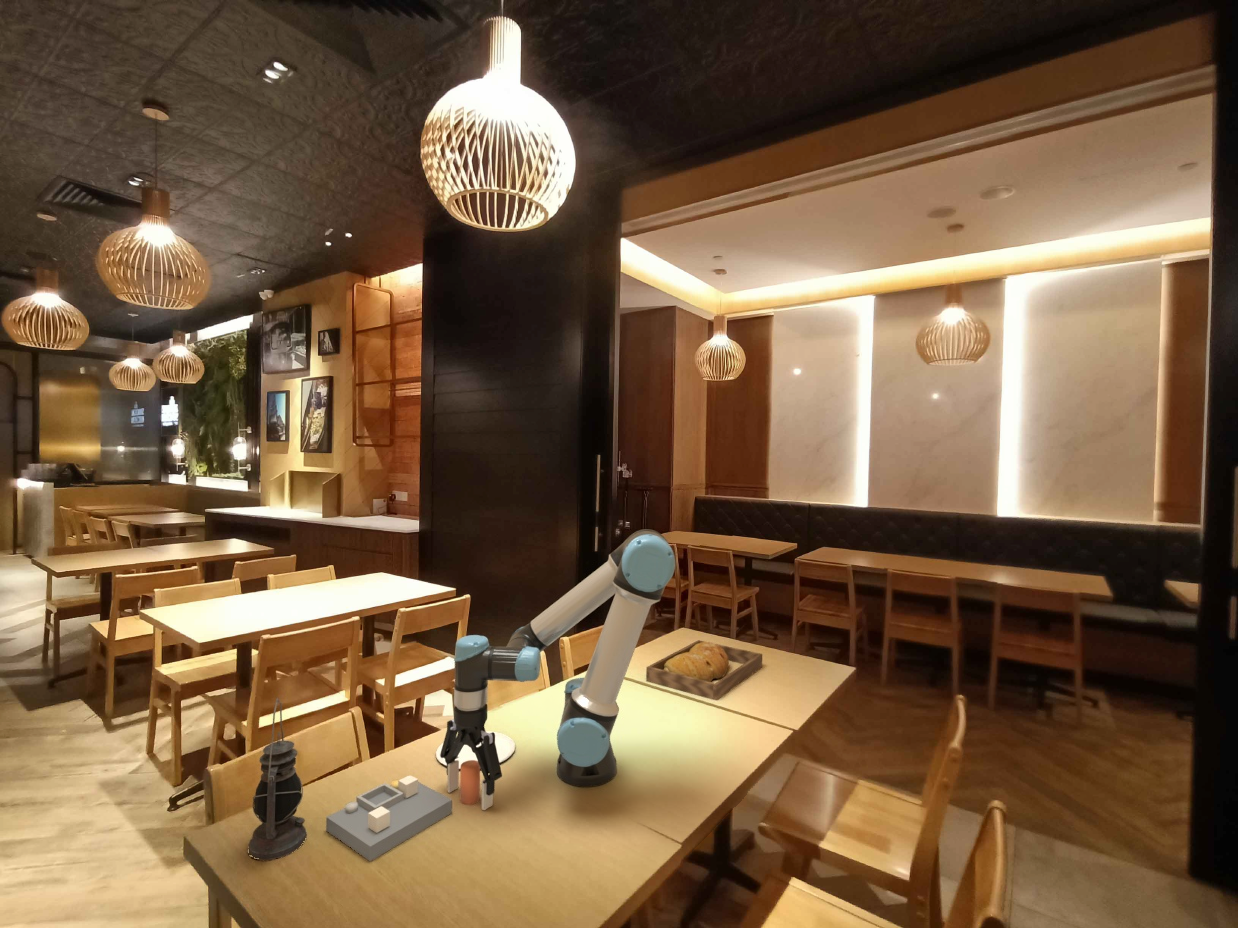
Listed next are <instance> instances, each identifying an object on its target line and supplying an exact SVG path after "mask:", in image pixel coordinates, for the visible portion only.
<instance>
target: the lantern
mask: <svg viewBox="0 0 1238 928" xmlns="http://www.w3.org/2000/svg"><path fill="white" fill-rule="evenodd" d="M278 704H279V716H280V717H279V720H280V721H279V722H280V731H281V732H279V731H277V737H276V739H277V740H276V741H274V733H275V718H276V710H277V707H278ZM274 705H275V706H274V710H273V715H272V725H271V726H272V730H271V741H270V742H271V743H269V744H267V745H266V746H264V747H263V749H262V753H263V754H262V755H261V756H260V757H259V761H258V762H259V763H260V764H261V766H260V771H261V772H262V774H261V775H260V781H259V783H258V785H257V787H256V789H255V794H254V796H253V797H252V799H253V801H252V811H253V814H254V816H255V817H256V818H257V819H258V821H259V822H260V823H261V824H259V825H258V826H257V827H256V828H255V829H254V830H253V832H252V836H251V838H250V840H249V843H248V846H249V853H247V855H248V854H249V855H252V856H253V857H252V858H254V857H255V858H259V859H257V860H256V861H259V860H268V861H273V860H272V859H274V860H277V859H276V858H279V859H282V858H284V857H286V855H287V856H289V855H291V854H293V853H295V852H296V851H297V850H299V849H300V848H301V847H302V846H301V844H302V843H304V842H303V841H305V838H307V836H308V833H307V831H306V827H305V826H304V824H305V821H306V820H305V818H304V817H301V816H296V815H295V814H296V813H297V810H298V807H299V805H300V804H301V802H302V799H303V794H304V788H303V782H302V780H301V778H300V777H299V775H298V774H297V771H296V770H297V768H296V767H295V765H296V763H297V758H296V757H297V756H298V750H297V749H296V748H294V747H295V742H293V741H291V740H285V739H284V729H283V728H284V727H283V718H282V717H283V716H282V702H281V701H280V700H279V697H277V698H276V699H275V704H274ZM305 842H306V841H305ZM304 844H305V843H304ZM300 846H301V847H300ZM299 847H300V848H299ZM298 848H299V849H298ZM296 849H297V850H296ZM295 850H296V851H295ZM294 851H295V852H294ZM292 852H293V853H292ZM281 857H282V858H281ZM252 858H251V859H252Z"/></svg>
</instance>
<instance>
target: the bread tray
mask: <svg viewBox="0 0 1238 928" xmlns="http://www.w3.org/2000/svg"><path fill="white" fill-rule="evenodd" d="M701 642H706V641H704V640H700V639H699V640H696V641H695V642H692V643H690V644H689V645H686V646H684V647H682V648H680V649H679V650H677V651H675V652H673V653H671V654H669V655H667V656H665V657H663V658H661V659H660V660H658V661H655V662H654V663H652V664H650V665H648V666H646V667H645V668H646V671H645V673H646V678H645V681H646V682H647V683H652V684H656V685H659V686H663V687H666V688H670V689H673V690H677V691H680V692H684V693H689V694H692V695H695V696H699V697H703V698H706V699H709V700H710V699H711V700H714V701H717V700H719V699H720V698H722V697H723V696H725V694H727V693H729V692H730V691H731V690H733V689H734V688H735V687H737V686H738V685H739V684H741V683H743V682H744V681H745V680H746V679H747V678H749V677H750V676H752V675H753V674H755V673H756V672H758V671H759V670H760V669H761V668H762V667H763V653H759V652H754V651H752V650H751V651H750V650H746V649H740V648H736V647H731V646H727V645H723V644H718V643H716V644H717V645H718V646H720V647H721V648H722V649H723V650H724V651H725V653H726V654H727V656H728V660H729V662H734V663H739V664H741V665H740V666H739V667H737V668H736V669H734V670H732V671H731V672H730V673H728V674H727V675H724V676H723V677H721V678H720V679H718V681H716V682H712V681H711V682H708V681H704V680H700V679H696V678H692V677H688V676H684V675H680V674H677V673H673V672H669V671H665V670H663V669H664V664H665V663H666V662H667V661H668V660H669V659H671V658H674V657H675V656H677V655H679V654H682V653H686V652H689V651H690V649H691V648H692V647H693V646H695V645H696V644H698V643H701Z"/></svg>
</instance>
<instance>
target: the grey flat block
mask: <svg viewBox="0 0 1238 928" xmlns="http://www.w3.org/2000/svg"><path fill="white" fill-rule="evenodd" d="M399 780H400V779H395V780H392V781H391V783H390V784H388V783H386V782H384V783H381V784H380V785H378V786H376V787H373V788H372V789H369V790H367V791H365V792H364V793H361V794H360V795H358V796H356V801H351V802H348V803H346V804H345V807H343V808H342V809H340V810H338V811H336V812H333V813H332V814H330V815H328V816H326V818H325V819H326V820H325V821H326V822H325V823H326V827H325V829H326V830H325V831H326V832H327V833H328V832H329V833H328V834H329V835H331V836H333V837H334V836H335V837H334V838H336V839H337V838H338V839H339V840H338V839H337V840H338V841H340V840H341V841H342V843H343V844H344V843H345V844H344V845H346V846H347V847H348V846H349V848H350V847H351V848H352V850H353V851H354V850H355V851H354V852H356V853H357V854H358V853H359V854H358V855H360V856H361V855H362V856H361V857H362V858H365V859H366V860H367V861H368V862H372V861H374V860H376V859H377V858H379V857H380V856H382V855H384V854H385V853H388V852H389V851H391V850H393V849H394V848H396V847H397V846H399V845H400V844H402V843H404V842H405V841H408V840H409V839H411V838H412V837H414V836H417V834H419V833H421V832H423V831H424V830H425V829H427V828H429V827H431V826H432V825H433V826H434V824H435V823H437V822H439V821H441V820H443V819H444V818H446V817H448V816H449V815H451V814H453V799H452V798H450V797H448V796H446V795H445V794H442V793H440V792H438V791H437V790H435V789H433V788H431V787H429V786H427V785H426V784H423V783H422V782H419V781H418V793H416V794H414V795H412V796H410V797H408V798H405V797H404V793H402V792H401V791H399V790H398V781H399ZM381 806H382V807H384V808H385V809H387V810H389V811H390V826H388V827H386V828H385V829H383V830H381V831H379V832H378V833H376V832H374V831H373V830H371V829H370V828H368V813H369V812H371V811H373V810H375V809H377V808H379V807H381ZM341 841H340V842H341ZM351 848H350V849H351Z"/></svg>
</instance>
